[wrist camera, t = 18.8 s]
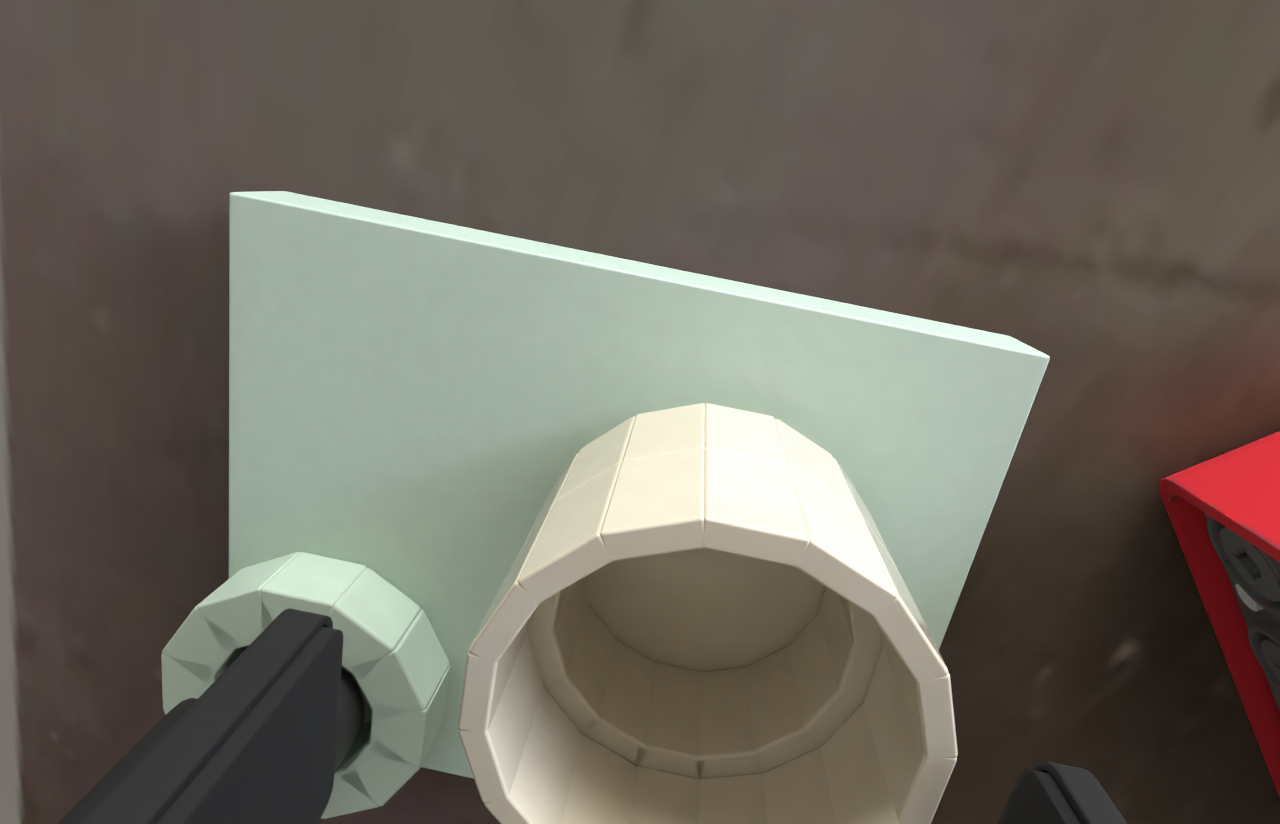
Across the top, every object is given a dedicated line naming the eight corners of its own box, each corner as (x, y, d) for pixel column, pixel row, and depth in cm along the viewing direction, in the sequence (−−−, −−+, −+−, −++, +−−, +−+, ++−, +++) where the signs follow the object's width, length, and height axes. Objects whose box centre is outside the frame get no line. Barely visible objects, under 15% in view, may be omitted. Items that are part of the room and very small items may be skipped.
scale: (255, 685, 20) (164, 786, 17) (263, 186, 16) (143, 186, 12) (839, 813, 19) (866, 944, 16) (1011, 336, 15) (1096, 378, 12)
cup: (523, 651, 16) (438, 869, 11) (568, 366, 14) (489, 472, 9) (819, 715, 16) (872, 967, 11) (911, 436, 14) (1031, 585, 9)
